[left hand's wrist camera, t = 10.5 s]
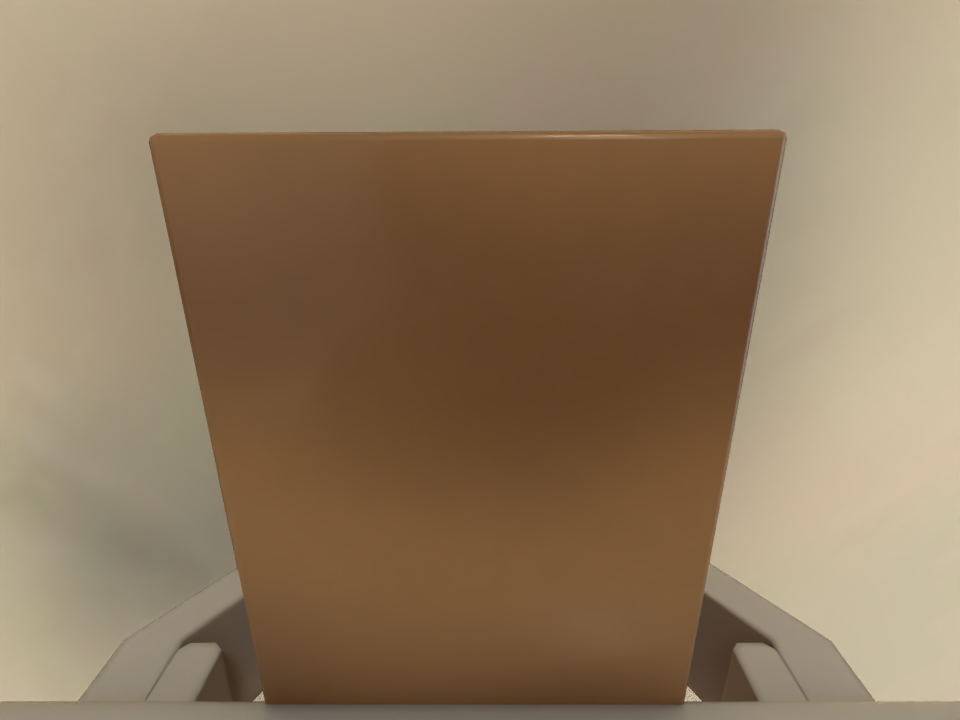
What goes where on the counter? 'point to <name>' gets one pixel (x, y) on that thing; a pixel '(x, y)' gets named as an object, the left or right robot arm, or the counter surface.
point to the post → (471, 397)
